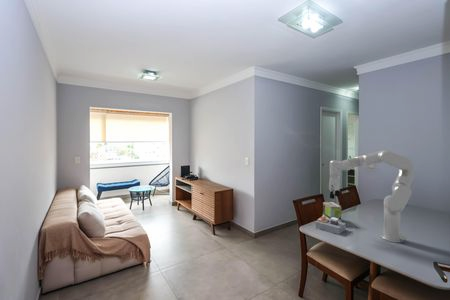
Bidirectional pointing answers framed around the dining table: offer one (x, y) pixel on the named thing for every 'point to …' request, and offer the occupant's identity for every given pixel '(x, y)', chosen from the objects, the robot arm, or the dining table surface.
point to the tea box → (332, 210)
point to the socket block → (331, 226)
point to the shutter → (323, 219)
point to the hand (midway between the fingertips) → (334, 197)
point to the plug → (334, 221)
